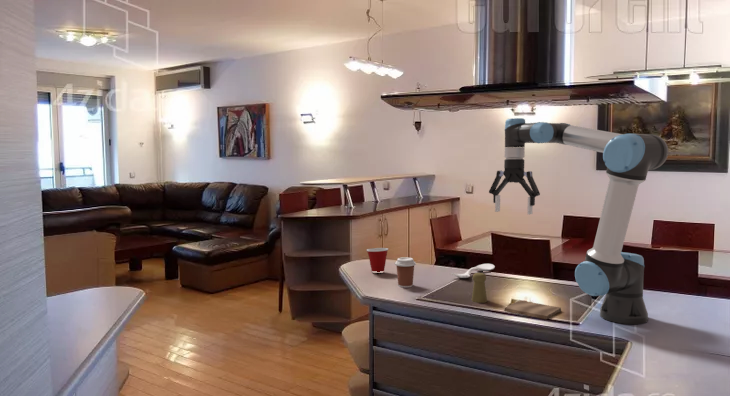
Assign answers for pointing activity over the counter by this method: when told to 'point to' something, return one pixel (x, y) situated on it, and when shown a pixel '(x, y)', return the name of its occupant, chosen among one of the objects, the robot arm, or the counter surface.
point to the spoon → (480, 267)
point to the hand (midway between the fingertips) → (513, 212)
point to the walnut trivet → (532, 309)
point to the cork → (479, 288)
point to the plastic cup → (377, 258)
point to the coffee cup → (405, 271)
